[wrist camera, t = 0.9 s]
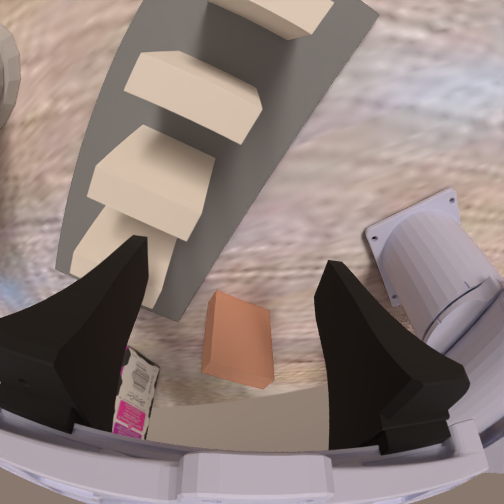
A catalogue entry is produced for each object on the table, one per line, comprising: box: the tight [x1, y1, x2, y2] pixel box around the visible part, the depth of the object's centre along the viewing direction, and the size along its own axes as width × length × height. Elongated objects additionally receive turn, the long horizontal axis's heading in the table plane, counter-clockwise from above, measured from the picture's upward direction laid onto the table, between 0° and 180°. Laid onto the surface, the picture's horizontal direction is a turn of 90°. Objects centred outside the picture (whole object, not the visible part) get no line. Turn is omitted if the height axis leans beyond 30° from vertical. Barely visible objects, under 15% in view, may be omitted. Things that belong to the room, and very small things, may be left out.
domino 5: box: [201, 290, 275, 389], centre depth 24 cm, size 2×5×7 cm, turn 60°
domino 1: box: [124, 51, 263, 145], centre depth 13 cm, size 2×5×7 cm, turn 60°
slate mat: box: [55, 0, 380, 322], centre depth 19 cm, size 28×12×1 cm, turn 150°
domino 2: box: [87, 125, 215, 242], centre depth 16 cm, size 2×5×7 cm, turn 60°
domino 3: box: [70, 206, 177, 309], centre depth 18 cm, size 2×5×7 cm, turn 60°
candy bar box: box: [112, 346, 160, 440], centre depth 26 cm, size 11×5×16 cm, turn 126°
